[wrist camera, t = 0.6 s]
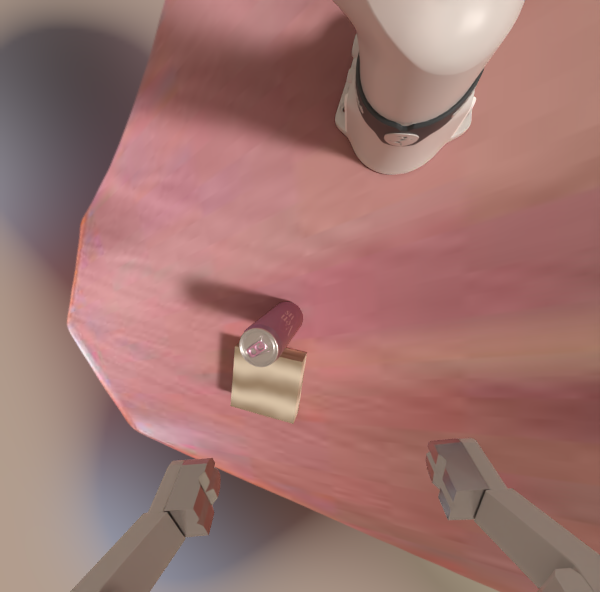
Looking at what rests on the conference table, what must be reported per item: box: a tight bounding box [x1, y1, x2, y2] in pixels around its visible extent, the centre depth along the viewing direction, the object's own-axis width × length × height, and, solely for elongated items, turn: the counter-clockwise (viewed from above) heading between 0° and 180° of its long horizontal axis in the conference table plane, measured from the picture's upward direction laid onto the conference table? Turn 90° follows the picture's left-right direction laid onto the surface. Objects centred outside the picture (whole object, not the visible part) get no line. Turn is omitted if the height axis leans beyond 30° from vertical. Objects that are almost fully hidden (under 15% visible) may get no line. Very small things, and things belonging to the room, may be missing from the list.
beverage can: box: [239, 302, 303, 367], centre depth 41 cm, size 6×6×15 cm
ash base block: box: [231, 343, 307, 424], centre depth 50 cm, size 13×13×4 cm
